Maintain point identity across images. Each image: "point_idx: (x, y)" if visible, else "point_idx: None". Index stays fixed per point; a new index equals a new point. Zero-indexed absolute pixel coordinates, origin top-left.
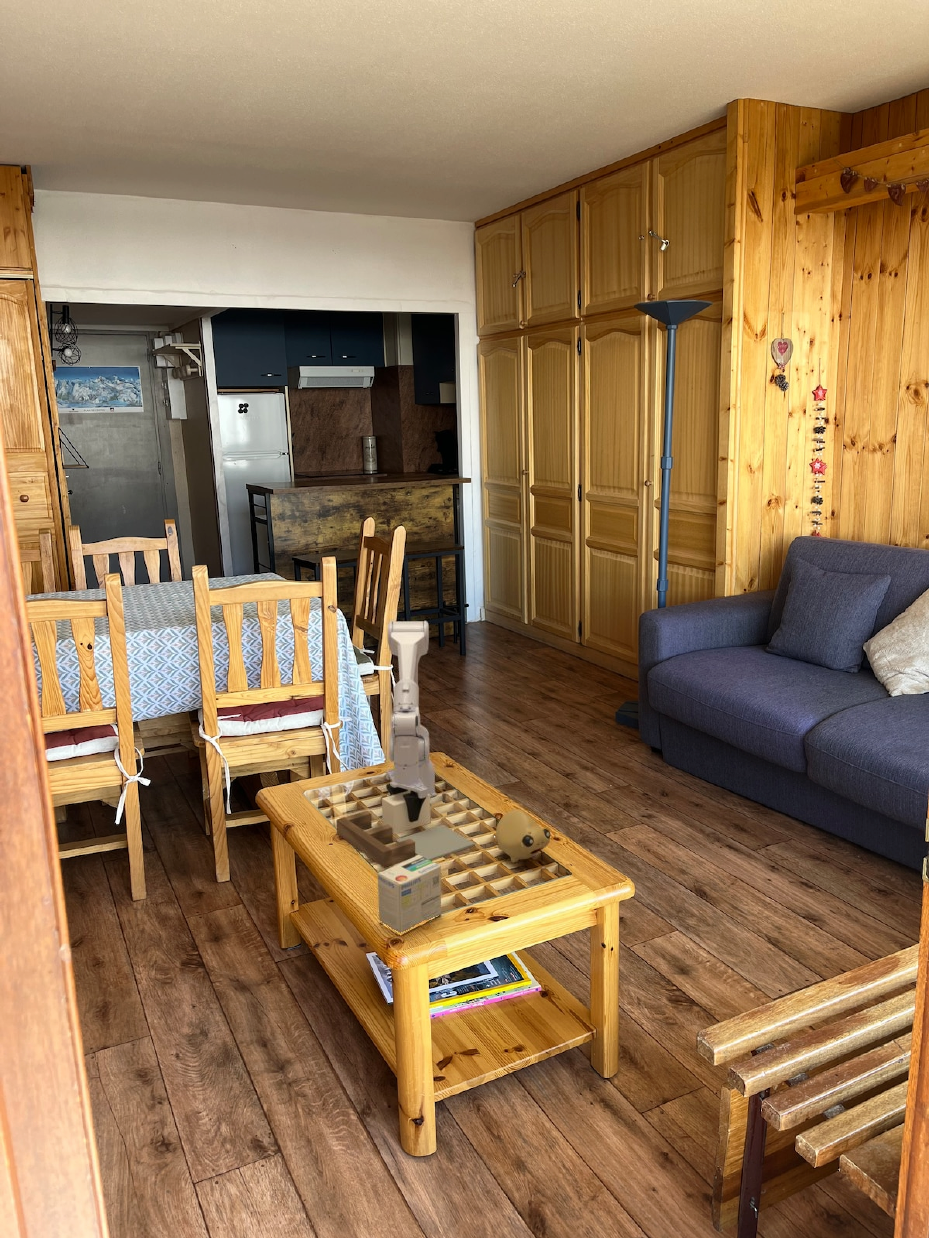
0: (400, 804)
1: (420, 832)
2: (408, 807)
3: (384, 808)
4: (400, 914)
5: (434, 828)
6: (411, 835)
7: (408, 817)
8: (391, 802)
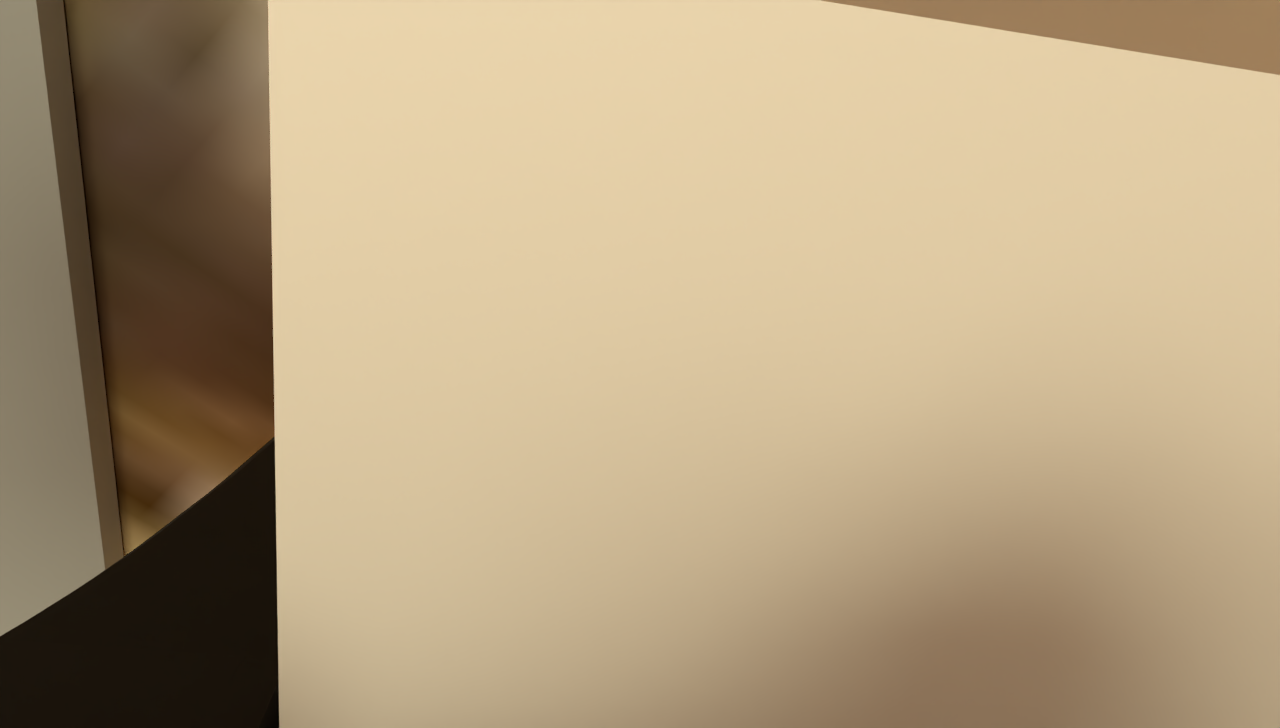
0: (289, 472)
1: (46, 295)
2: (157, 622)
3: (1251, 4)
4: None
5: (64, 586)
6: (3, 31)
7: None
8: (910, 211)
